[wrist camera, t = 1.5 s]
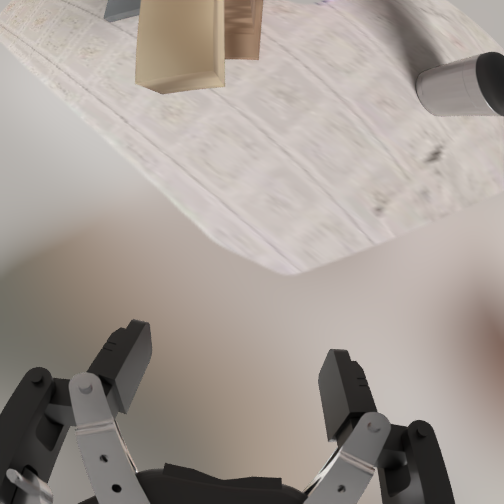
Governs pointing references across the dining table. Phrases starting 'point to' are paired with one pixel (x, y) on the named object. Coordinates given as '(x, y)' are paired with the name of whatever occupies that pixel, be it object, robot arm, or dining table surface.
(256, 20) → the tall stand
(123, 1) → the low stand
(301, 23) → the dining table surface
